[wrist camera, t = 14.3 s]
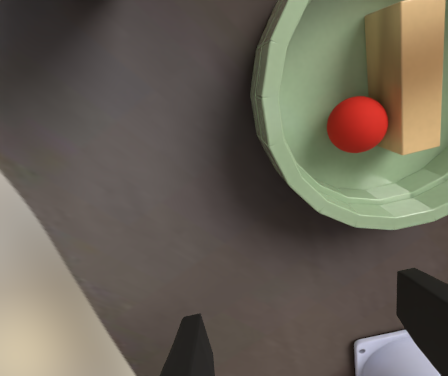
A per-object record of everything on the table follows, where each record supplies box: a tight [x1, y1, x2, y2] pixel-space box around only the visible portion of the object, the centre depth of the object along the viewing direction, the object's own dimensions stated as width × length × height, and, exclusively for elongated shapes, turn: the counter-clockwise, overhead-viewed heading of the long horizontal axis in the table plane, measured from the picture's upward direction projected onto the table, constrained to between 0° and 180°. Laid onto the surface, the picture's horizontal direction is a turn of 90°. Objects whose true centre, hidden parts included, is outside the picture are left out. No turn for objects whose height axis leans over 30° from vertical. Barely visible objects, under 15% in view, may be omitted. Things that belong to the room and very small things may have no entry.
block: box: [364, 0, 446, 155], centre depth 15 cm, size 7×2×3 cm, turn 14°
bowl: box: [250, 0, 448, 230], centre depth 15 cm, size 15×15×4 cm
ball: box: [327, 96, 388, 153], centre depth 15 cm, size 3×3×3 cm
